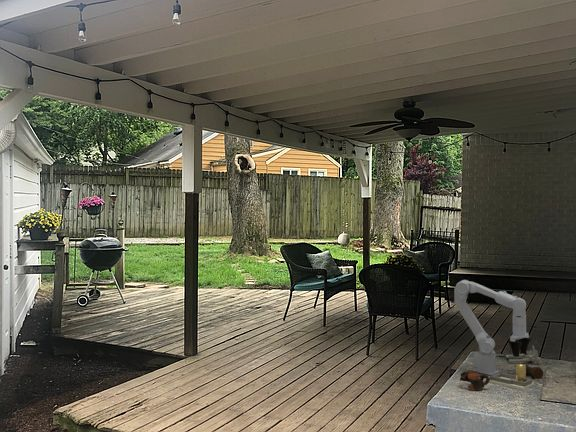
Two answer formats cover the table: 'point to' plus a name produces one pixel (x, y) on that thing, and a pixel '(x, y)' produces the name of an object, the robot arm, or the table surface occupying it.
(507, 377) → the keyhole plate
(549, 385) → the table surface
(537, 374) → the bolt
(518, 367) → the brass peg
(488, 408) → the table surface
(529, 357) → the bike brake
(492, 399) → the table surface
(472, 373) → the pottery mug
